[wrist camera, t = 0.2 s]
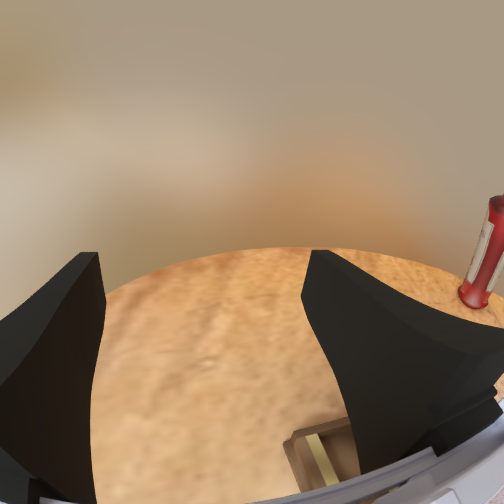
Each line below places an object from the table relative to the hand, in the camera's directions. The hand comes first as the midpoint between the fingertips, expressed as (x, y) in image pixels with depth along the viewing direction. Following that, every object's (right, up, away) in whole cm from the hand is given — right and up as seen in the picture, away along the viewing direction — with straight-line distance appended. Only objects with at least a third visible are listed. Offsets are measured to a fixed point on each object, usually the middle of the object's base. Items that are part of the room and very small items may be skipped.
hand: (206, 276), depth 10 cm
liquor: (+41, -9, +37) cm, 56 cm away
